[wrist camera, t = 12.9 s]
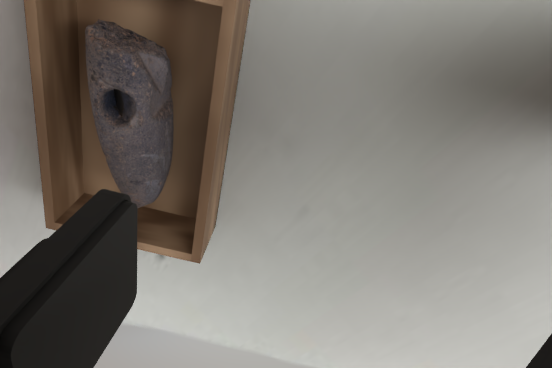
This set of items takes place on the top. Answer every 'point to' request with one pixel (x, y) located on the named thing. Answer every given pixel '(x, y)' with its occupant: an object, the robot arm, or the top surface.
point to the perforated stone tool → (131, 107)
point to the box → (186, 110)
